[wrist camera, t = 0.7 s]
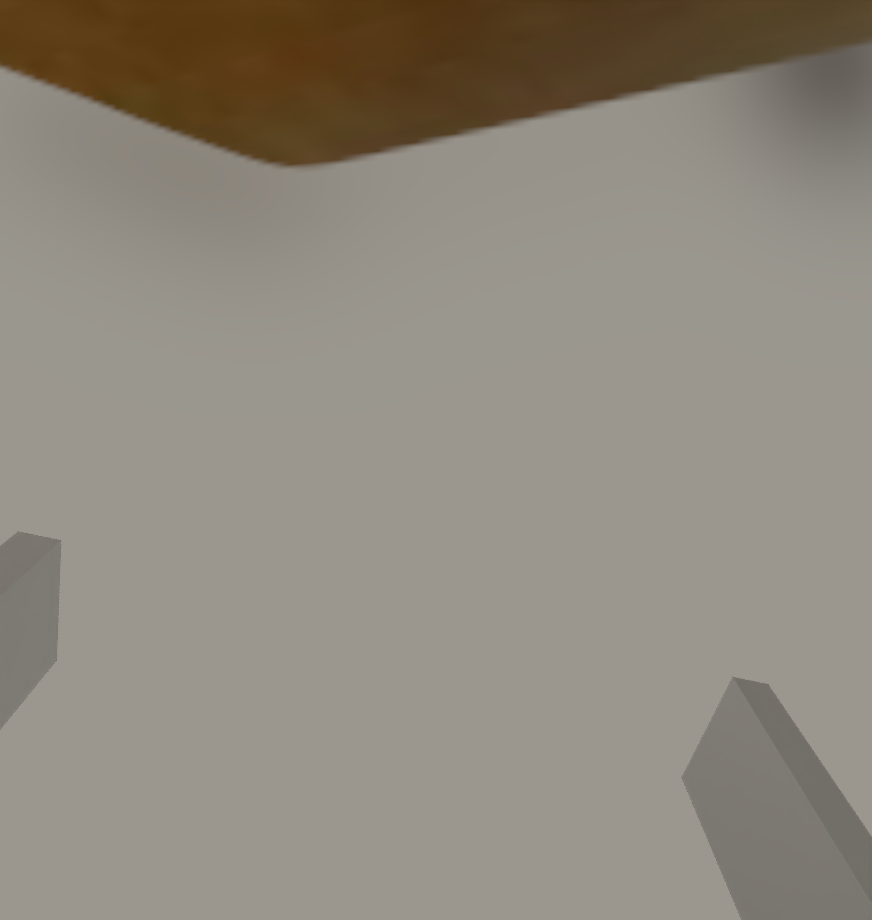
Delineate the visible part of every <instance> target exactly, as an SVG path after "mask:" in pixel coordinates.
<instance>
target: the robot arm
mask: <svg viewBox="0 0 872 920" xmlns="http://www.w3.org/2000/svg"><path fill="white" fill-rule="evenodd" d="M60 559H61V540H57V539H52V538H47V537H42V536H38V535H33V534H28V533H23V532H17V533H16V534H14V535H13V536H12V537H11V538H9V539H8V540H7V541H6V542H5V543H3V544H2V545H1V546H0V729H1V728H2V727H3V726H4V725H5V723H6V722H7V721H8V719H9V718H10V717H11V716H12V715H13V713H14V712H15V711H16V710H17V709H18V707H19V706H20V705H21V704H22V702H23V701H24V700H25V699H26V697H27V696H28V695H29V694H30V693H31V691H32V690H33V689H34V688H35V686H36V685H37V684H38V683H39V681H40V680H41V679H42V678H43V677H44V675H45V674H46V673H47V672H48V670H49V669H50V668H51V667H52V666H53V664H54V663H55V662H56V660H57V640H58V612H59V585H60ZM682 780H683V782H684V785H685V787H686V789H687V792H688V794H689V796H690V799H691V801H692V804H693V806H694V808H695V811H696V813H697V815H698V818H699V820H700V822H701V825H702V827H703V830H704V832H705V834H706V837H707V839H708V841H709V844H710V846H711V849H712V851H713V853H714V855H715V858H716V860H717V863H718V865H719V867H720V870H721V872H722V875H723V877H724V879H725V882H726V884H727V887H728V889H729V891H730V894H731V896H732V898H733V901H734V903H735V906H736V908H737V910H738V913H739V915H740V917H741V920H872V837H871V835H870V834H869V832H868V831H867V829H866V828H865V826H864V825H863V823H862V822H861V820H860V819H859V817H858V816H857V815H856V813H855V811H854V810H853V809H852V807H851V806H850V804H849V803H848V801H847V800H846V798H845V797H844V795H843V794H842V793H841V791H840V789H839V788H838V787H837V785H836V783H835V782H834V780H833V779H832V778H831V776H830V775H829V773H828V772H827V770H826V769H825V767H824V766H823V765H822V763H821V762H820V760H819V758H818V757H817V755H816V754H815V752H814V751H813V750H812V748H811V747H810V745H809V744H808V742H807V741H806V739H805V738H804V736H803V735H802V733H801V732H800V730H799V729H798V727H797V726H796V724H795V723H794V722H793V720H792V719H791V717H790V716H789V714H788V713H787V711H786V710H785V708H784V707H783V705H782V704H781V703H780V701H779V700H778V698H777V696H776V695H775V694H774V692H773V691H772V689H771V688H770V686H769V685H768V684H764V683H759V682H755V681H750V680H745V679H740V678H735V677H732V679H731V681H730V683H729V685H728V687H727V689H726V691H725V693H724V695H723V697H722V699H721V701H720V703H719V705H718V707H717V709H716V711H715V713H714V715H713V717H712V719H711V721H710V723H709V725H708V727H707V729H706V731H705V733H704V735H703V737H702V738H701V740H700V742H699V744H698V746H697V749H696V750H695V752H694V754H693V756H692V758H691V760H690V762H689V764H688V766H687V768H686V770H685V772H684V774H683V776H682Z"/></svg>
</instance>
